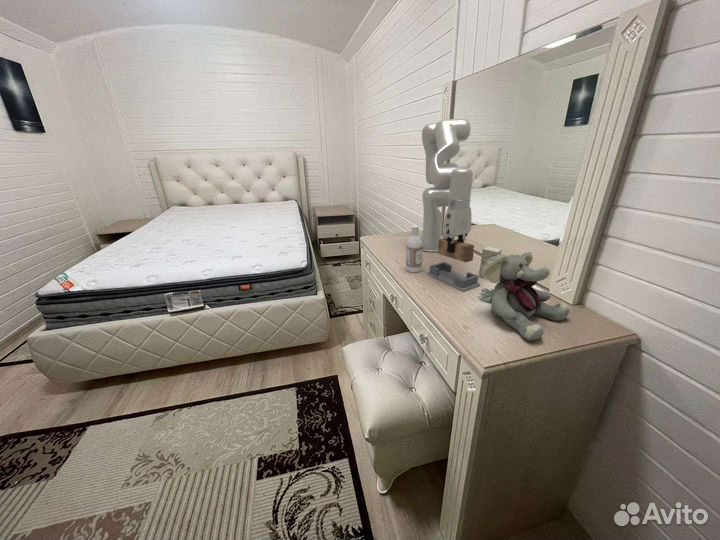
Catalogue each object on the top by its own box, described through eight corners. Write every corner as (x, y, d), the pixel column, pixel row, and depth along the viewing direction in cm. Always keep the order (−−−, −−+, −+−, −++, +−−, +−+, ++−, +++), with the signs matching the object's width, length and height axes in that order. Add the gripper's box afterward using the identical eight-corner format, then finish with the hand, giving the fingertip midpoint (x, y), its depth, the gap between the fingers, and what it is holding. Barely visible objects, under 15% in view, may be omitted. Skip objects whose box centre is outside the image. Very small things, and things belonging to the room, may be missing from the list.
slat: (438, 253, 120) (438, 239, 118) (445, 251, 122) (446, 237, 120) (465, 262, 109) (466, 247, 107) (472, 260, 111) (474, 245, 109)
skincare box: (478, 276, 122) (481, 248, 117) (482, 273, 125) (486, 245, 120) (493, 280, 118) (498, 252, 113) (497, 276, 121) (502, 248, 116)
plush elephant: (577, 322, 89) (596, 259, 81) (532, 346, 80) (548, 277, 72) (500, 289, 111) (509, 236, 103) (458, 305, 102) (464, 248, 94)
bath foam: (413, 274, 127) (414, 229, 119) (402, 269, 132) (403, 226, 124) (425, 270, 130) (427, 226, 122) (414, 265, 135) (415, 223, 128)
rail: (427, 274, 126) (427, 265, 124) (442, 269, 130) (443, 261, 129) (463, 291, 110) (464, 282, 108) (479, 285, 114) (481, 276, 112)
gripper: (450, 208, 101) (446, 258, 108) (482, 202, 109) (477, 249, 116) (434, 205, 107) (432, 252, 114) (466, 200, 115) (462, 244, 122)
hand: (455, 250), depth 115 cm, fingers closed on slat, 4 cm apart
